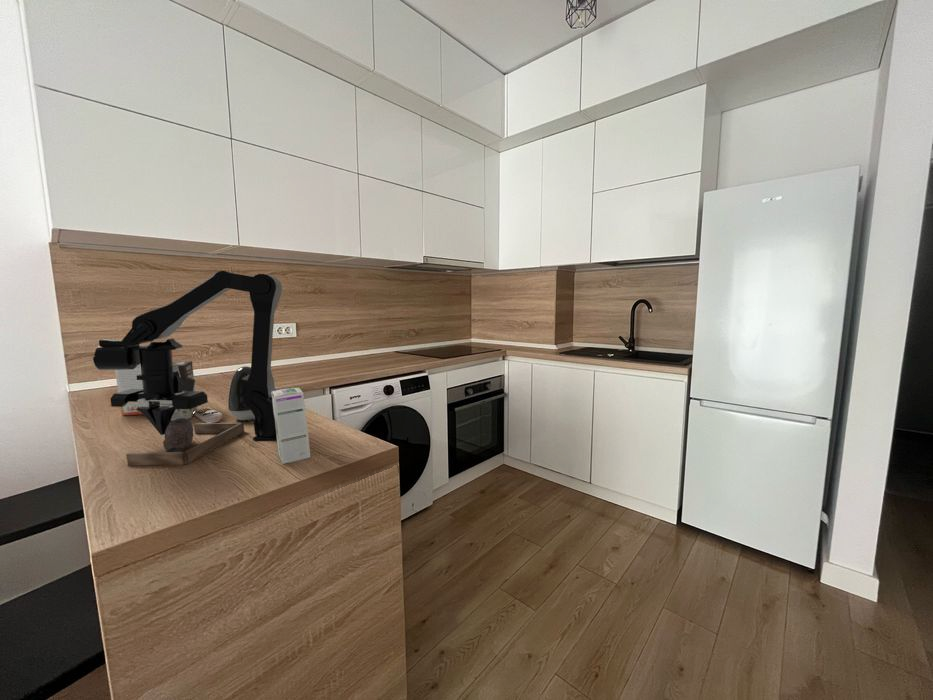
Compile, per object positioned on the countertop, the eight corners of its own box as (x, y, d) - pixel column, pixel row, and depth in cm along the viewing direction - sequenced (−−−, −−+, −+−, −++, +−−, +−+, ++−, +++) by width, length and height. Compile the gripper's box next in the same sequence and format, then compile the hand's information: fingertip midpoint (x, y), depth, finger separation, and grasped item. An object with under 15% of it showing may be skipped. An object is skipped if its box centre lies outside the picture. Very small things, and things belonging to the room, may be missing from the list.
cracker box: (181, 408, 122) (172, 344, 119) (167, 414, 116) (157, 346, 113) (137, 410, 122) (127, 346, 119) (121, 416, 116) (110, 348, 113)
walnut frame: (244, 431, 98) (243, 422, 97) (186, 464, 78) (184, 453, 78) (197, 432, 98) (195, 423, 98) (127, 465, 79) (126, 454, 79)
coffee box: (191, 418, 111) (183, 365, 108) (164, 422, 108) (156, 367, 106) (198, 410, 119) (192, 360, 117) (174, 413, 117) (166, 362, 114)
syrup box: (311, 458, 80) (305, 391, 78) (280, 465, 77) (273, 395, 75) (306, 449, 85) (300, 386, 83) (277, 455, 82) (270, 390, 80)
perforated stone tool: (167, 439, 92) (170, 411, 92) (193, 439, 95) (197, 411, 95) (158, 459, 79) (162, 426, 79) (189, 457, 82) (193, 426, 82)
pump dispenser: (247, 425, 103) (241, 370, 101) (221, 421, 107) (214, 369, 105) (278, 414, 112) (273, 364, 110) (253, 411, 116) (248, 362, 114)
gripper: (221, 364, 94) (225, 424, 96) (149, 361, 94) (154, 421, 97) (186, 373, 83) (192, 441, 85) (104, 370, 83) (112, 437, 86)
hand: (163, 434), depth 88 cm, fingers closed
